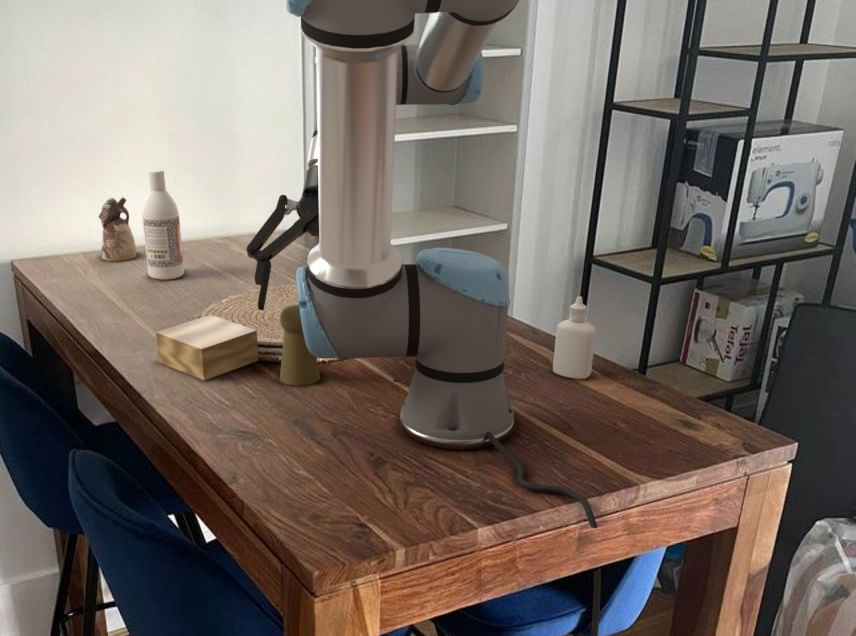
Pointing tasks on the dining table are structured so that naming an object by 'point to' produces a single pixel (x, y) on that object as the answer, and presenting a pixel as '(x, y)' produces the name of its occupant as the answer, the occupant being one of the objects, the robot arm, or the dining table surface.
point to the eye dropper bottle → (574, 344)
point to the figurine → (116, 232)
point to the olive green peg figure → (296, 351)
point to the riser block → (207, 347)
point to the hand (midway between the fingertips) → (307, 316)
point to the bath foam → (162, 230)
